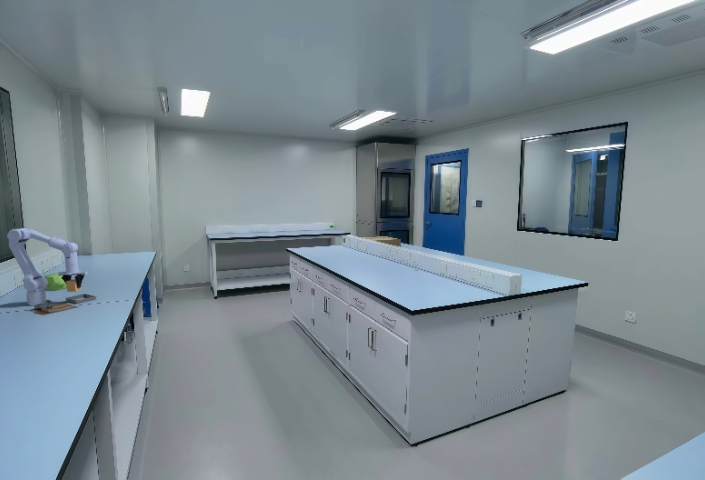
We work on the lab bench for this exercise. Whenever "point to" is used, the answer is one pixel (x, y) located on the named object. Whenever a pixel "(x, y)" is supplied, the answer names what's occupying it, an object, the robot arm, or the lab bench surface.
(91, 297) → the tray
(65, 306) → the crank board
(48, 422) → the lab bench surface
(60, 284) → the green rough block
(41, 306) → the crank
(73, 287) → the stop block
